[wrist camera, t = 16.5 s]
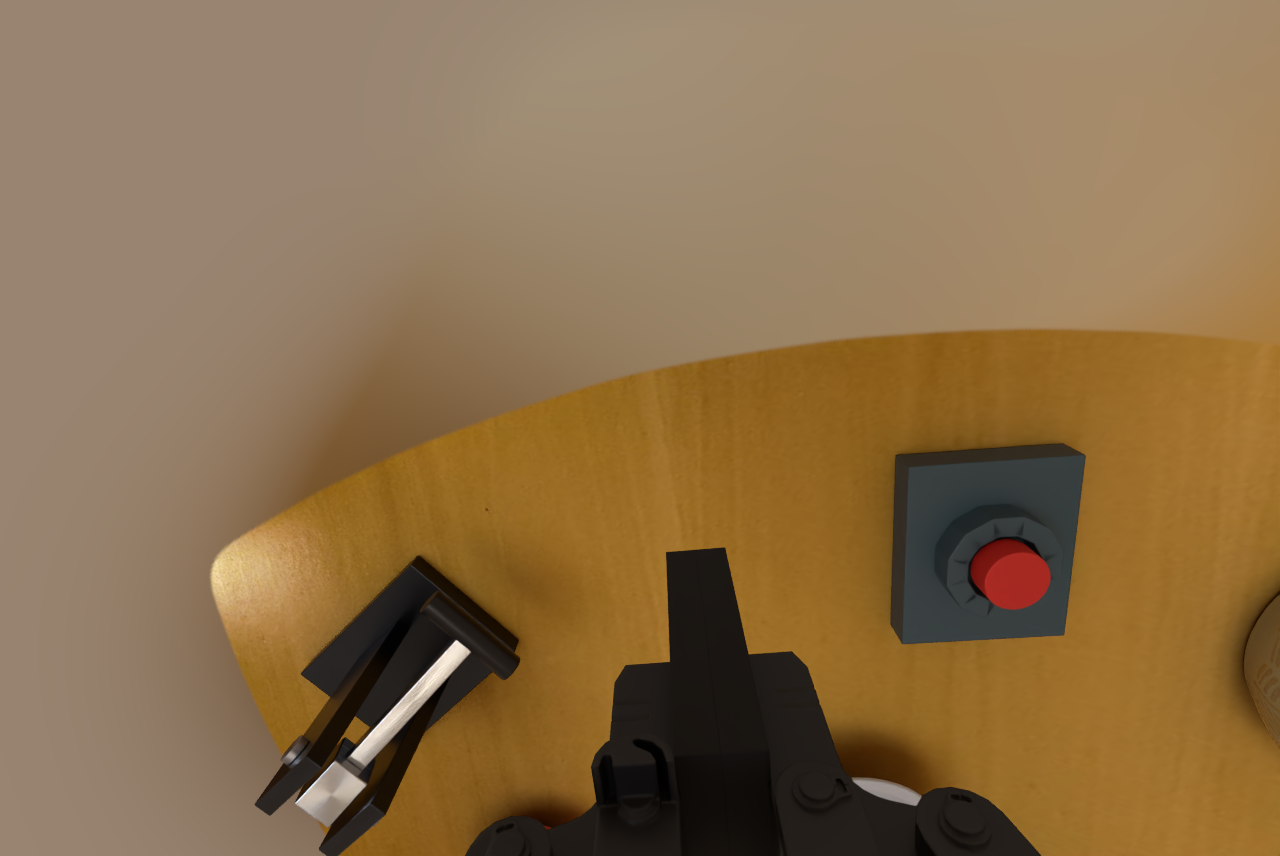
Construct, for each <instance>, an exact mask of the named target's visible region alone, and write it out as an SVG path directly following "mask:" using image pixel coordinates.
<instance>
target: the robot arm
mask: <svg viewBox="0 0 1280 856" xmlns="http://www.w3.org/2000/svg"><path fill="white" fill-rule="evenodd" d="M666 560H667V588H668V615H669V642H670V662H664V663H650V664H636V665H626V666H625V667H624V669H623V670H622V672H621V674H620V675H619V677H618V678H617V680H616V681H615V685H614V697H613V708H612V721H611V731H610V741H608V742H606V743H605V744H604V745H603V746H602V747H601V748H600V749H599V751H598V752H597V753H596V754H595V757H594V760H593V763H592V765H591V769H592V776H593V782H594V788H595V794H596V801H597V802H596V803H595V804H594V805H593V806H592V808H591V809H589V810H588V811H587V812H585V813H584V814H583V815H581V816H580V817H578V818H576V819H574V820H572V821H570V822H567V823H564V824H562V825H559V826H556V827H554V828H551V829H548V830H547V829H546V828H545V827H544V825H543V824H542V823H541V822H540V821H538V820H536V819H533V818H530V817H528V816H511V817H508V818H505V819H502V820H500V821H497V822H495V823H493V824H492V825H491V826H489V827H488V828H486V829H485V830H484V831H482V832H481V833H480V834H479V836H478V837H477V838H476V840H475V841H474V842H473V843H472V845H471V846H470V848H469V849H468V851H467V853H466V855H465V856H1041V855H1040V854H1039V853H1038V851H1037V850H1036V849H1035V848H1034V847H1033V846H1032V845H1031V844H1030V842H1029V841H1028V840H1027V839H1026V838H1025V837H1024V836H1023V835H1022V833H1021V832H1020V831H1019V830H1018V829H1017V828H1016V827H1015V826H1014V824H1013V823H1012V822H1011V821H1010V820H1009V819H1008V818H1007V817H1006V815H1005V814H1004V813H1003V812H1002V811H1000V810H999V809H998V808H997V807H996V806H995V805H993V804H992V803H991V802H990V801H989V800H987V799H985V798H983V797H981V796H979V795H977V794H975V793H973V792H971V791H968V790H963V789H958V788H953V787H947V788H937V789H933V790H931V791H930V792H928V793H926V794H924V795H922V797H921V799H920V800H919V802H918V804H917V805H916V806H914V805H909V804H905V803H900V802H896V801H891V800H887V799H884V798H881V797H878V796H875V795H873V794H871V793H869V792H868V791H866V790H864V789H862V788H861V787H860V786H858V785H857V784H856V783H855V782H853V780H852V778H851V777H850V776H849V775H848V774H846V772H845V771H844V769H843V767H842V765H841V763H840V760H839V757H838V754H837V752H836V749H835V746H834V743H833V740H832V737H831V734H830V731H829V728H828V725H827V723H826V720H825V717H824V714H823V711H822V708H821V705H820V704H819V699H818V696H817V694H816V691H815V689H814V685H813V682H812V679H811V676H810V673H809V670H808V668H807V666H806V665H805V664H804V663H803V662H802V661H801V660H800V659H799V658H798V657H797V656H796V655H795V654H794V653H793V652H792V651H791V652H777V653H764V654H750V655H748V650H747V645H746V641H745V636H744V632H743V627H742V623H741V618H740V613H739V609H738V604H737V600H736V595H735V591H734V586H733V581H732V577H731V572H730V568H729V563H728V559H727V554H726V549H725V548H713V549H700V550H688V551H676V552H666Z"/></svg>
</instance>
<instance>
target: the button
mask: <svg viewBox="0 0 1280 856" xmlns="http://www.w3.org/2000/svg"><path fill="white" fill-rule="evenodd" d="M971 577H972V580H973V581H974V583H975V584H976V586H977V587H978V588H979V589H980V590H981V591H982V592H983V593H984V595H985V596H986V597H987V598H988V599H989V600H990V601H991V602H992V603H993V604H995V605H996V606H998V607H1001V608H1004V609H1011V610H1015V609H1022V608H1025V607H1028V606H1030V605H1032V604H1034V603H1035V602H1037V601H1038V600H1039V599H1040V598H1041V597H1042V596H1043V595H1044V594H1045V592H1046V591H1047V589H1048V587H1049V584H1050V578H1051V575H1050V570H1049V567H1048V565H1047V564H1046V562H1045V561H1044V560H1043V559H1042V558H1041V557H1040V556H1038V555H1037V554H1036V553H1035V552H1034V551H1032V550H1031V549H1030V548H1029V547H1028V546H1027V545H1025V544H1024V543H1022V542H1020V541H1018V540H1014V539H999V540H995V541H992V542H990V543H988V544H987V545H985V546H984V547H982V548H981V549H980V550H979V551H978V552H977V554H976V555H975V557H974V558H973V561H972V564H971Z"/></svg>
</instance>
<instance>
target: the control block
mask: <svg viewBox="0 0 1280 856" xmlns="http://www.w3.org/2000/svg"><path fill="white" fill-rule="evenodd" d="M1085 457H1086V456H1085V455H1084V454H1082V453H1081V452H1079V451H1077V450H1075V449H1073V448H1071V447H1069V446H1067V445H1065V444H1048V445H1034V446H1020V447H1006V448H991V449H977V450H963V451H949V452H934V453H920V454H906V455H896V464H895V497H894V529H893V562H892V595H891V626H892V628H893V629H894V631H895V633H896V634H897V636H898V638H899V639H900V641H901V643H902V644H915V643H933V642H952V641H970V640H988V639H1006V638H1024V637H1042V636H1060V635H1064V632H1065V624H1066V615H1067V607H1068V599H1069V590H1070V582H1071V574H1072V565H1073V557H1074V549H1075V540H1076V532H1077V524H1078V515H1079V507H1080V499H1081V490H1082V482H1083V474H1084V465H1085ZM999 539H1014V540H1018V541H1020V542H1022V543H1024V544H1025V545H1027V546H1028V547H1029V548H1030V549H1031V550H1032V551H1034V552H1035V553H1036V554H1037V555H1038V556H1040V557H1041V558H1042V559H1043V560H1044V561H1045V562H1046V564H1047V565H1048V567H1049V570H1050V575H1051V578H1050V584H1049V587H1048V589H1047V591H1046V592H1045V594H1044V595H1043V596H1042V597H1041V598H1040V599H1039V600H1038V601H1037V602H1035V603H1034V604H1032V605H1030V606H1028V607H1025V608H1022V609H1015V610H1011V609H1004V608H1001V607H998V606H996V605H995V604H993V603H992V602H991V601H990V600H989V599H988V598H987V597H986V596H985V595H984V593H983V592H982V591H981V590H980V589H979V588H978V587H977V586H976V584H975V583H974V581H973V580H972V577H971V564H972V561H973V558H974V557H975V555H976V554H977V552H978V551H979V550H980V549H981V548H982V547H984V546H985V545H987V544H988V543H990V542H992V541H995V540H999Z"/></svg>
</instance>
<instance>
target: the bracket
mask: <svg viewBox="0 0 1280 856" xmlns="http://www.w3.org/2000/svg"><path fill="white" fill-rule="evenodd" d="M438 590H439V591H441V592H442V593H443V594H444V595H446V596H447V597H448V598H449V599H450V600H452V601H453V602H454V603H455V604H456V605H458V606H459V607H460V608H461V609H462V610H464V611H465V612H466V613H467V614H468V615H470V616H471V617H472V618H473V619H474V620H475V621H477V622H478V623H479V624H480V625H481V626H483V627H484V628H485V629H486V630H487V631H489V632H490V633H491V634H492V635H493V636H495V637H496V638H497V639H498V640H499V641H501V642H502V643H503V644H504V645H505V646H507V647H508V648H509V649H510V650H511V651H513V652H515V650H516V647H517V644H518V641H519V640H518V639H517V638H516V637H514V636H513V635H512V634H511V633H510V632H508V631H507V630H506V629H505V628H504V627H503V626H501V625H500V624H499V623H498V622H497V621H495V620H494V619H493V618H492V617H491V616H489V615H488V614H487V613H486V612H485V611H483V610H482V609H481V608H480V607H479V606H478V605H476V604H475V603H474V602H473V601H472V600H470V599H469V598H468V597H467V596H466V595H464V594H463V593H462V592H461V591H460V590H459V589H457V588H456V587H455V586H454V585H453V584H451V583H450V582H449V581H448V580H447V579H445V578H444V577H443V576H442V575H441V574H440V573H438V572H437V571H436V570H435V569H434V568H432V567H431V566H430V565H429V564H428V563H426V562H425V561H424V560H423V559H422V558H420V557H419V556H417V557H416V558H415V559H414V560H413V561H412V562H411V563H410V564H409V565H407V566H406V567H405V568H404V569H403V570H402V571H401V572H400V573H399V574H398V575H397V576H396V577H395V578H394V579H393V580H392V581H391V582H390V583H389V584H388V585H387V586H386V587H385V588H384V589H383V590H382V591H381V592H380V593H379V594H378V595H377V596H376V597H375V598H374V599H373V600H372V601H371V602H370V603H369V604H368V605H367V606H366V607H365V608H364V609H363V610H362V611H361V612H360V613H359V614H358V615H357V616H356V617H355V618H354V619H353V620H352V621H351V622H350V623H349V624H348V625H347V626H346V627H345V628H344V629H343V630H342V631H341V632H340V633H339V634H338V635H337V636H336V637H335V638H334V639H333V640H332V641H331V642H330V643H329V644H328V645H327V646H326V647H325V648H324V649H323V650H322V651H321V652H320V653H319V654H318V655H317V656H316V657H315V658H314V659H313V660H312V661H311V662H310V663H309V664H308V665H307V666H306V668H305V669H304V670H303V671H302V673H301V675H302V676H304V677H305V678H306V679H307V680H309V681H310V682H311V683H313V684H314V685H315V686H317V687H318V688H319V689H321V690H322V691H323V692H325V693H326V694H327V695H328V696H330V699H329V700H328V702H327V703H326V704H325V706H324V707H323V709H322V710H321V711H320V713H319V714H318V716H317V717H316V718H315V720H314V721H313V723H312V724H311V725H310V727H309V728H308V730H307V731H306V733H305V734H304V735H301V736H299V737H298V738H297V739H296V740H295V741H294V742H293V744H292V745H291V746H290V747H289V748H288V749H287V751H286V752H285V753H284V755H283V756H282V758H281V761H282V762H283V763H284V764H283V765H282V766H281V768H280V769H279V771H278V772H277V773H276V775H275V776H274V778H273V779H272V780H271V782H270V783H269V785H268V786H267V787H266V789H265V790H264V792H263V793H262V794H261V796H260V797H259V799H258V800H257V802H256V803H255V806H256V807H258V808H259V809H261V810H262V811H264V812H265V813H266V814H268V815H269V816H270V815H272V814H273V813H274V812H275V811H276V810H277V809H278V808H279V807H280V806H281V805H283V804H284V803H285V802H286V801H287V800H288V799H289V798H290V797H291V796H292V795H293V794H294V793H295V792H297V791H298V790H299V789H300V788H301V787H302V786H303V785H304V784H305V783H306V782H307V781H309V780H310V779H311V778H312V777H313V776H314V775H315V774H316V773H317V772H318V771H319V770H320V769H322V767H323V766H324V764H325V763H326V761H327V759H328V758H329V756H330V755H331V753H332V751H333V750H334V748H335V747H336V745H337V744H338V742H339V740H340V739H341V737H342V736H343V734H344V732H345V731H346V729H347V728H348V726H349V725H350V723H351V721H352V720H353V718H354V717H355V716H356V717H357V718H359V719H360V720H361V721H363V722H364V723H365V724H366V725H368V726H369V727H371V726H372V725H373V724H374V723H375V722H376V721H377V720H378V719H379V718H380V717H381V715H382V714H383V713H384V712H385V711H386V710H387V709H388V708H389V707H390V706H391V705H392V704H393V702H394V701H395V700H396V699H397V698H398V697H399V696H400V695H401V694H402V693H403V692H404V691H405V689H406V688H407V687H408V686H409V685H410V684H411V683H412V682H413V681H414V680H415V679H416V678H417V676H418V675H419V674H420V673H421V672H422V671H423V670H424V669H425V668H426V667H427V666H428V665H429V664H430V662H431V661H432V660H433V659H434V658H435V657H436V656H437V655H438V654H439V653H440V652H441V651H442V649H443V648H444V647H445V646H446V645H447V644H448V643H449V642H450V641H451V640H452V638H451V637H450V636H449V635H447V634H446V633H445V632H444V631H443V630H441V629H440V628H439V627H438V626H436V625H435V624H434V623H433V622H432V621H430V620H429V619H428V618H427V617H425V616H424V615H423V614H422V613H421V612H420V610H421V608H422V606H423V605H424V604H425V602H426V601H427V600H428V599H429V598H430V597H431V596H432V595H433V594H434V593H435V592H436V591H438ZM490 673H492V671H491V670H490V669H489V668H488V667H486V666H485V665H484V664H483V663H482V662H480V661H479V660H478V659H477V658H475V657H474V656H473V655H472V654H471V653H470V654H469V655H468V657H467V658H466V659H465V660H464V661H463V662H462V663H461V664H460V665H459V666H458V667H457V669H456V670H455V671H454V672H453V673H452V674H451V675H450V676H449V677H448V678H447V679H446V681H445V682H444V683H443V684H442V685H441V686H440V687H439V688H438V689H437V690H436V691H435V693H434V694H433V695H432V696H431V697H430V698H429V699H428V700H427V701H426V702H425V703H424V705H423V706H422V707H421V708H420V709H419V710H418V711H417V712H416V713H415V714H414V715H413V716H412V718H411V719H410V720H409V721H408V722H407V723H406V724H405V725H404V726H403V727H402V728H401V730H400V731H399V732H398V733H397V734H396V735H395V736H394V737H393V738H392V739H391V740H390V742H389V743H388V744H387V745H386V746H385V747H384V748H383V749H382V750H381V751H380V752H379V754H378V755H377V756H376V757H375V758H374V759H375V760H376V762H375V765H374V768H373V771H372V773H371V776H370V779H369V782H368V785H367V787H366V788H365V789H364V790H363V791H362V792H361V793H360V794H359V795H358V796H357V797H356V799H355V800H354V801H353V802H352V803H351V804H350V805H349V806H348V807H347V808H346V810H345V811H344V812H343V813H342V814H341V815H340V816H339V817H338V818H337V819H336V821H335V822H334V823H333V824H332V826H331V828H330V829H329V831H328V833H327V835H326V837H325V838H324V840H323V842H322V844H321V846H320V847H319V851H321V852H322V853H324V854H325V855H326V856H338V855H340V854H341V853H342V852H343V851H344V850H345V849H347V848H348V847H349V846H350V845H351V844H352V843H353V842H355V841H356V840H357V839H358V838H359V837H360V836H362V835H363V834H364V833H365V832H366V831H367V830H369V829H370V828H371V827H373V826H375V825H376V824H377V823H378V822H379V821H380V820H381V819H382V817H384V816H385V815H386V813H387V811H388V809H389V806H390V804H391V802H392V800H393V798H394V796H395V794H396V792H397V789H398V787H399V785H400V783H401V781H402V779H403V777H404V775H405V772H406V770H407V768H408V766H409V764H410V762H411V760H412V758H413V755H414V753H415V751H416V749H417V747H418V745H419V743H420V741H421V738H422V736H423V734H424V732H425V731H427V730H428V729H429V728H430V727H431V726H432V725H433V724H434V723H435V722H437V721H438V720H439V719H440V718H441V717H442V716H443V715H444V714H446V713H447V712H448V711H449V710H450V709H451V708H452V707H453V706H455V705H456V704H457V703H458V702H459V701H460V700H461V699H462V698H464V697H465V696H466V695H467V694H468V693H469V692H470V691H471V690H473V689H474V688H475V687H476V686H477V685H478V684H479V683H480V682H481V681H483V680H484V679H485V678H486V677H487V676H488V675H489V674H490Z"/></svg>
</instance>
